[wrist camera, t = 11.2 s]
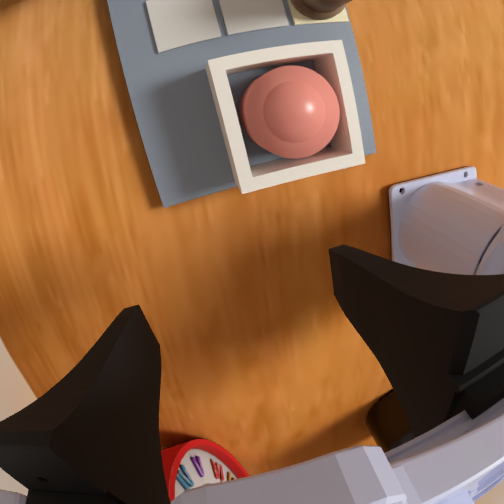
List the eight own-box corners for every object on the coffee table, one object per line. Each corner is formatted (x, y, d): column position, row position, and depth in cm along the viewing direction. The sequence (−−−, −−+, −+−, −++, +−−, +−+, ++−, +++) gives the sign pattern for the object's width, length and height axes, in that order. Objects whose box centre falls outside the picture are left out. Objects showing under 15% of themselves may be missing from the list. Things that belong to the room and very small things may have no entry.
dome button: (308, 67, 17) (335, 58, 13) (324, 141, 19) (353, 150, 15) (229, 81, 16) (238, 73, 13) (248, 159, 19) (262, 171, 15)
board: (319, -55, 14) (341, -78, 10) (370, 151, 20) (401, 160, 17) (105, -19, 13) (89, -41, 9) (164, 204, 20) (159, 224, 16)
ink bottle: (372, 436, 36) (407, 504, 26) (352, 413, 33) (393, 496, 22) (432, 396, 36) (476, 459, 25) (422, 366, 32) (478, 440, 21)
